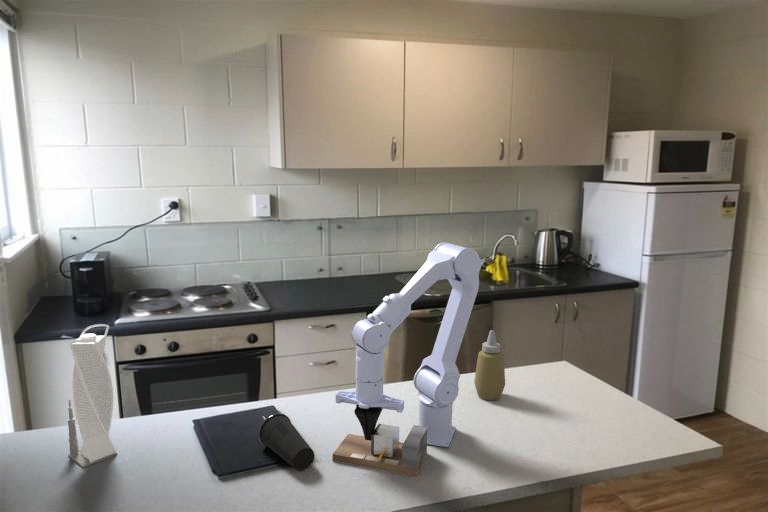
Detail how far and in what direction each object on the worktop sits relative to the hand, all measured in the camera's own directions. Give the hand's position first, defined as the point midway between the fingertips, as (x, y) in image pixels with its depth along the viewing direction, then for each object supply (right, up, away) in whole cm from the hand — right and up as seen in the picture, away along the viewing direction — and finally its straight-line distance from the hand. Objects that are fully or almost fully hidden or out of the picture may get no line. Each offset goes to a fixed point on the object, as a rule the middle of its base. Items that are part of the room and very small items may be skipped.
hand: (369, 438), depth 122 cm
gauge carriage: (+3, -3, -2) cm, 4 cm away
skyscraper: (-57, -4, 0) cm, 58 cm away
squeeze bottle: (+31, +1, +30) cm, 43 cm away
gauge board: (+2, -4, 0) cm, 5 cm away
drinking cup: (-13, -2, -6) cm, 14 cm away
